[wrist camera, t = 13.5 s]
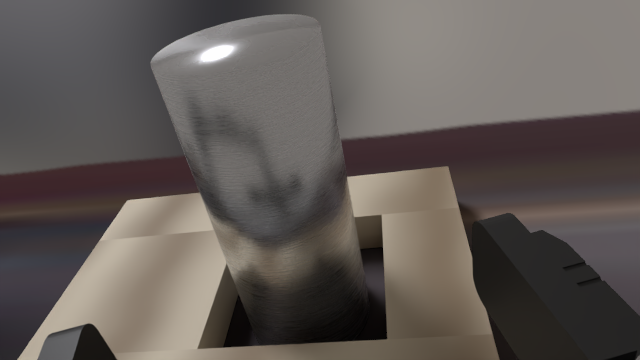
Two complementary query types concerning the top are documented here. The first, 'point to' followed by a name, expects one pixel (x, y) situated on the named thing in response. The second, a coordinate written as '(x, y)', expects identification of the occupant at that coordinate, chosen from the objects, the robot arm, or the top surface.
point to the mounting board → (221, 293)
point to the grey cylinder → (271, 172)
